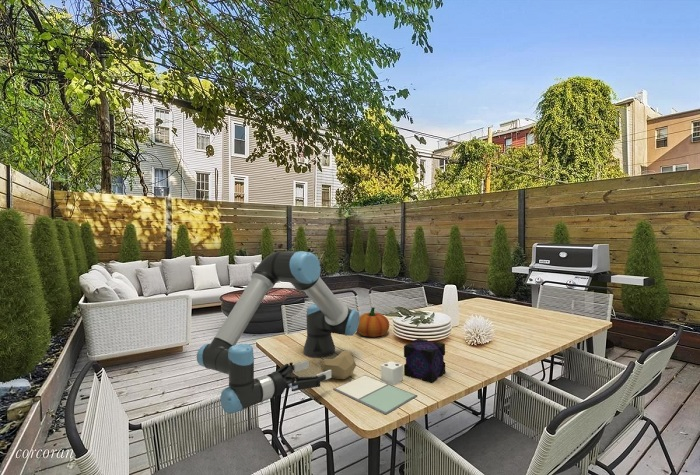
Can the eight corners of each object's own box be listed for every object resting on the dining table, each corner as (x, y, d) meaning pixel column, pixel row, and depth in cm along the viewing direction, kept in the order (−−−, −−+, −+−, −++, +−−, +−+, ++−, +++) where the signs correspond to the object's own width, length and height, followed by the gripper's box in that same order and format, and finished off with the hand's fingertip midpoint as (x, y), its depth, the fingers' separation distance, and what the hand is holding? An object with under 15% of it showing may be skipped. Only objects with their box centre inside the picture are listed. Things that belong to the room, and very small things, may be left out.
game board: (333, 389, 125) (333, 388, 125) (365, 375, 137) (365, 374, 137) (385, 414, 107) (385, 413, 107) (417, 396, 119) (417, 395, 119)
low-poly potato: (360, 372, 141) (340, 354, 147) (365, 355, 135) (344, 337, 141) (334, 395, 131) (314, 374, 137) (338, 377, 125) (317, 356, 131)
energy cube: (418, 366, 146) (418, 338, 146) (445, 373, 138) (445, 343, 138) (404, 375, 137) (403, 345, 137) (432, 383, 129) (431, 352, 129)
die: (380, 380, 133) (380, 364, 132) (390, 375, 137) (390, 360, 137) (393, 385, 128) (392, 369, 128) (402, 380, 132) (402, 364, 132)
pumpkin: (349, 332, 198) (349, 306, 198) (378, 327, 206) (378, 302, 206) (365, 341, 180) (364, 313, 180) (396, 336, 188) (395, 309, 188)
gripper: (251, 386, 123) (299, 369, 138) (290, 411, 105) (341, 388, 120) (250, 365, 123) (299, 350, 138) (290, 386, 105) (341, 367, 120)
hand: (318, 368), depth 129 cm, fingers open, 13 cm apart
